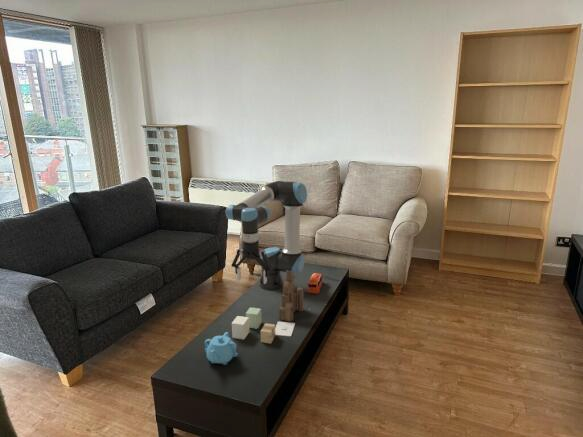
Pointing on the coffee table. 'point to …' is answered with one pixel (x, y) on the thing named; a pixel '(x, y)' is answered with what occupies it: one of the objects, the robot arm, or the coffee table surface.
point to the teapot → (220, 349)
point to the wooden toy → (290, 298)
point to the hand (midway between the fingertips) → (252, 281)
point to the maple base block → (268, 333)
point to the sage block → (254, 317)
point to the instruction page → (284, 328)
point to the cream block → (240, 327)
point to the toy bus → (315, 283)
